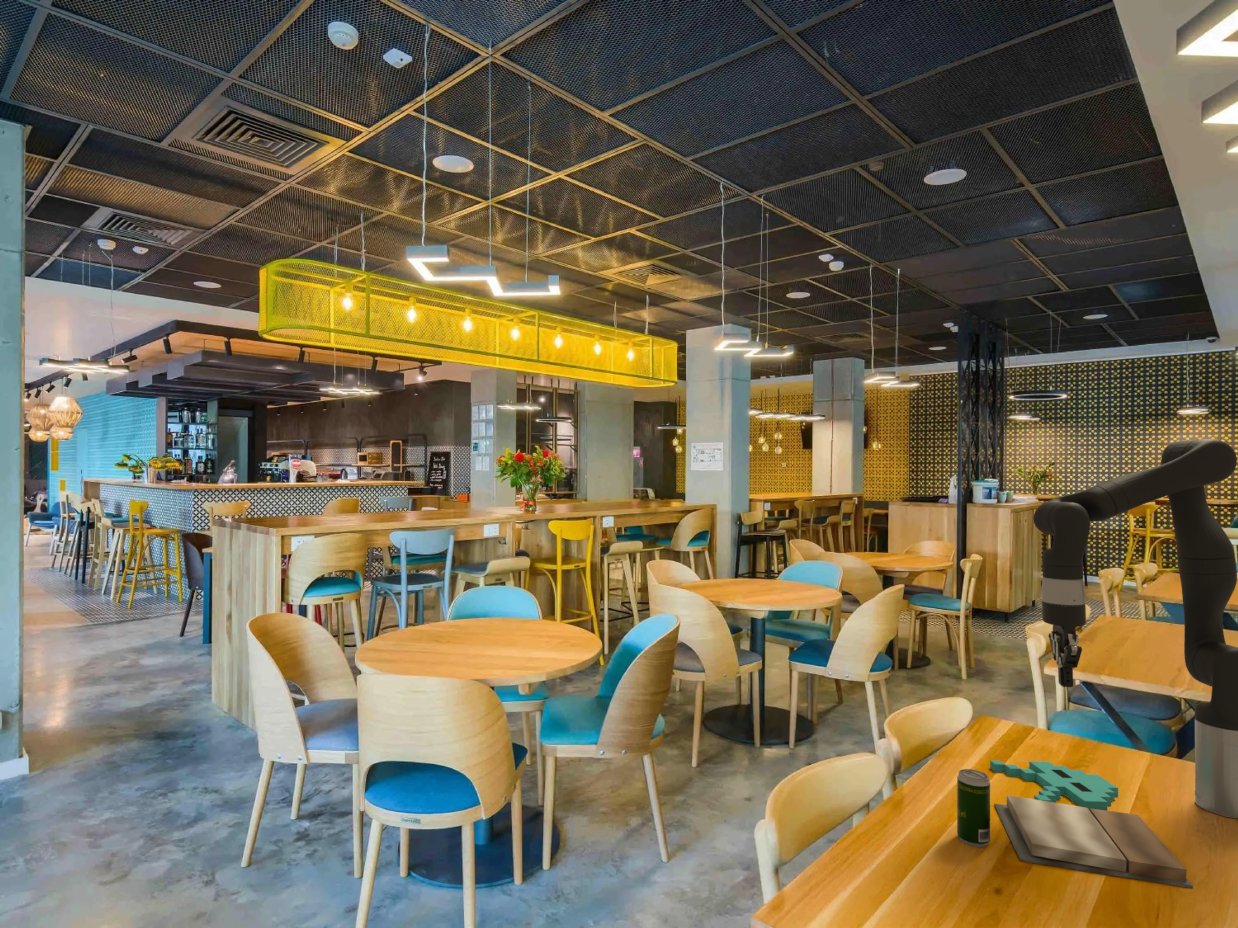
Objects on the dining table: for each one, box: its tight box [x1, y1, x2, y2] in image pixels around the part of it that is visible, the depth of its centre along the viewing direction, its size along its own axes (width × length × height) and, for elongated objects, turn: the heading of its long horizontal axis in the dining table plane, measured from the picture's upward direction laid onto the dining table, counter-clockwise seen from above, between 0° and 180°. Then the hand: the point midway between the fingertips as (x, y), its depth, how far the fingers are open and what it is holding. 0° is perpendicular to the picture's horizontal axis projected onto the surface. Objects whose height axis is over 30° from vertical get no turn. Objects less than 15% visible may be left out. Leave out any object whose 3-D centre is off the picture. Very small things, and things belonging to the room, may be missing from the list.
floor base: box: [993, 803, 1194, 889], centre depth 129 cm, size 25×22×2 cm
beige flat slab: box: [1006, 794, 1126, 872], centre depth 130 cm, size 14×20×2 cm
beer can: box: [956, 768, 991, 848], centre depth 129 cm, size 5×5×12 cm
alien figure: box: [989, 759, 1119, 811], centre depth 151 cm, size 20×2×20 cm
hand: (1065, 685), depth 142 cm, fingers closed
